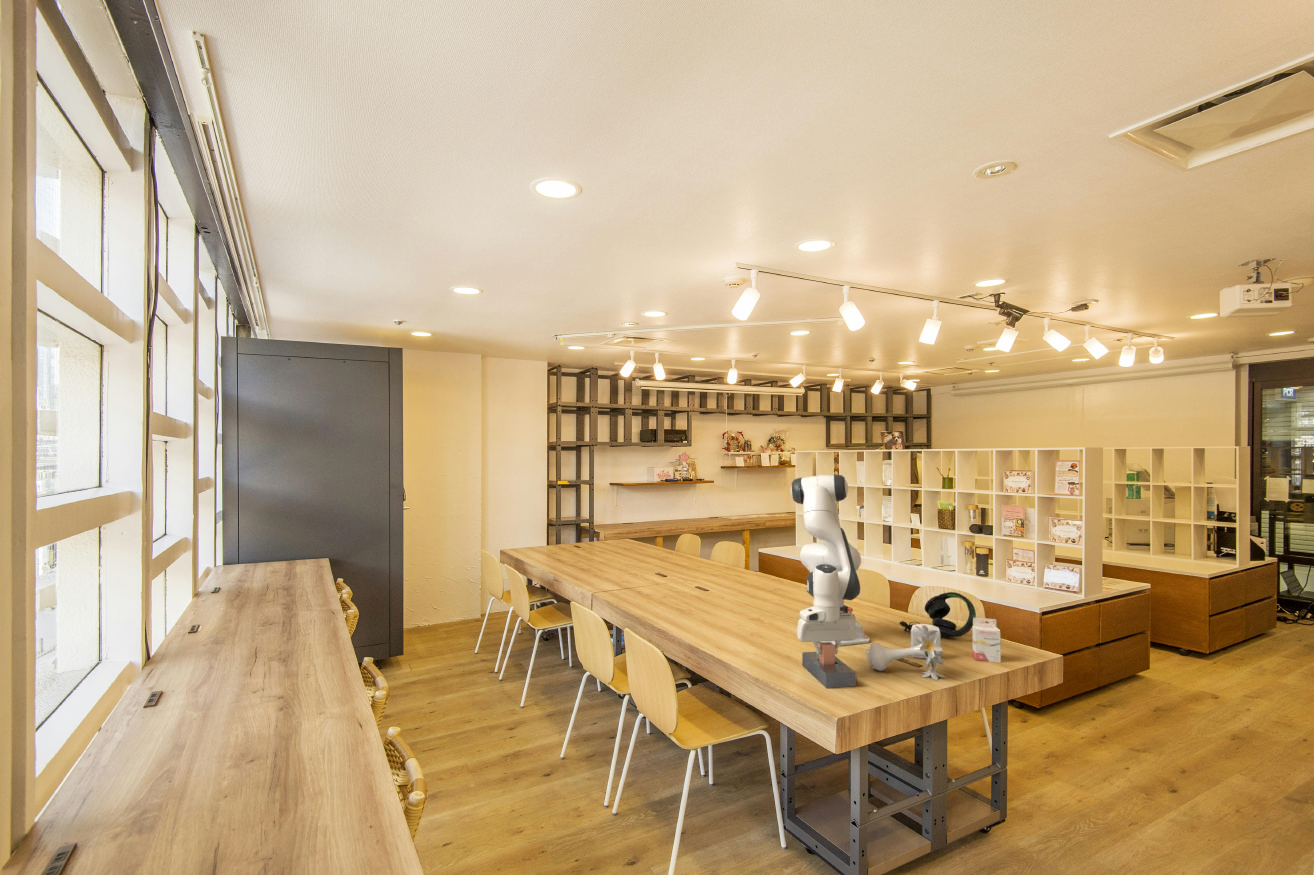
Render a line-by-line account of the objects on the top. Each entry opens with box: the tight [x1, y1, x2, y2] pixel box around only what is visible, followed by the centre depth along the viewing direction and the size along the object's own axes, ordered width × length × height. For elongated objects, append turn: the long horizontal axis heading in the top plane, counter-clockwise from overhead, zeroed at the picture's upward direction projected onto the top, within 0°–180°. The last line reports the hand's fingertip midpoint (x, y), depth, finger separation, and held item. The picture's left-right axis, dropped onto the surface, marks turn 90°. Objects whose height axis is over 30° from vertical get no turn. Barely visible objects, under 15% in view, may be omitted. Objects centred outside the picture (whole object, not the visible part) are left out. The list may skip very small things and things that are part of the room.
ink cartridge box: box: [971, 617, 1002, 663], centre depth 228 cm, size 9×5×15 cm, turn 76°
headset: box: [899, 591, 977, 639], centre depth 259 cm, size 18×14×29 cm
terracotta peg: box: [818, 642, 836, 665], centre depth 212 cm, size 4×4×8 cm
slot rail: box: [801, 651, 857, 689], centre depth 212 cm, size 10×22×5 cm, turn 7°
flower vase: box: [865, 625, 946, 681], centre depth 215 cm, size 13×18×25 cm
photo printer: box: [910, 623, 942, 660], centre depth 231 cm, size 10×4×12 cm, turn 73°
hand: (826, 653), depth 212 cm, fingers closed on terracotta peg, 4 cm apart
